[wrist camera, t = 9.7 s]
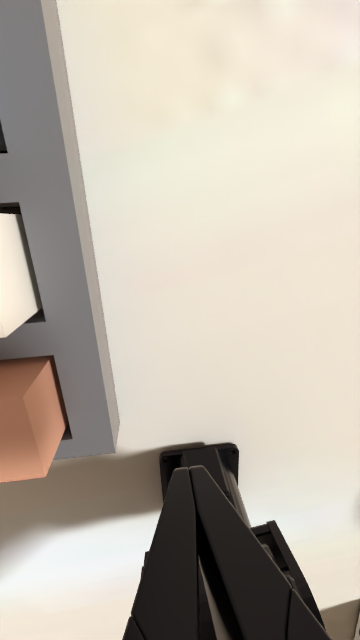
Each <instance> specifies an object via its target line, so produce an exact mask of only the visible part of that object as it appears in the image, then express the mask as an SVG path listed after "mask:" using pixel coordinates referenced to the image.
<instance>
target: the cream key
mask: <svg viewBox="0 0 360 640" xmlns="http://www.w3.org/2000/svg"><path fill="white" fill-rule="evenodd" d="M42 307H43V306H42V302H41V297H40V293H39V288H38V284H37V280H36V275H35V271H34V266H33V262H32V257H31V253H30V249H29V244H28V240H27V235H26V231H25V227H24V222H23V218H22V214H0V338H4V337H7V336H8V335H9V334H11V333H12V332H13V331H14V330H15V329H17V328H18V327H19V326H20V325H22V324H23V323H24V322H25V321H26V320H28V319H29V318H30V317H31V316H33V315H34V314H35V313H36V312H37V311H39V310H40V309H41V308H42Z"/></svg>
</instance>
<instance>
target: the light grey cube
mask: <svg viewBox="0 0 360 640" xmlns="http://www.w3.org/2000/svg"><path fill="white" fill-rule="evenodd" d="M5 150H7V147H6V143H5V139H4V134H3V130H2V125H1V121H0V151H5Z"/></svg>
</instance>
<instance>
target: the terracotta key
mask: <svg viewBox="0 0 360 640" xmlns="http://www.w3.org/2000/svg"><path fill="white" fill-rule="evenodd" d="M67 423H68V416H67V412H66V407H65V403H64V398H63V394H62V390H61V385H60V381H59V376H58V372H57V368H56V363H55V359H54V355H48V356H37V357H26V358H15V359H4V360H0V483H3V482H11V481H19V480H27V479H35V478H43V477H46V475H47V473H48V470H49V468H50V465H51V463H52V460H53V458H54V456H55V453H56V451H57V448H58V446H59V443H60V441H61V438H62V436H63V433H64V431H65V428H66V426H67Z"/></svg>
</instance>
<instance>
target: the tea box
mask: <svg viewBox="0 0 360 640" xmlns="http://www.w3.org/2000/svg"><path fill="white" fill-rule="evenodd" d="M354 640H360V613H359V619H358V624H357V627H356V633H355V638H354Z"/></svg>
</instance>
